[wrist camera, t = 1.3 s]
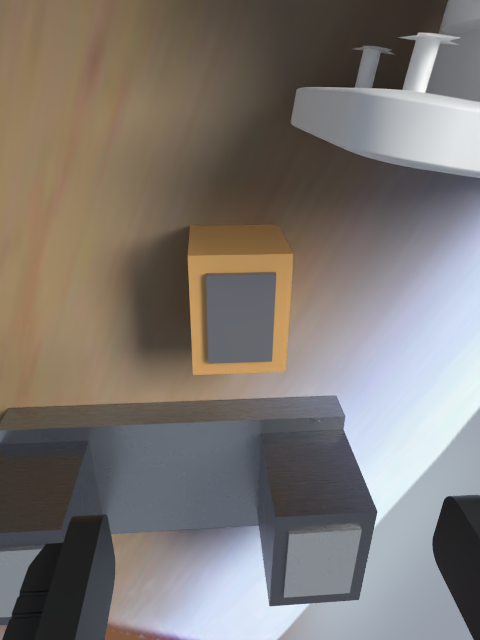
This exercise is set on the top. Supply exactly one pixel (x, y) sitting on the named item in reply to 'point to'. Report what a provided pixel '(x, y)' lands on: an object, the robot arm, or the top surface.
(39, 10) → the top surface
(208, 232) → the orange module
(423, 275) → the top surface
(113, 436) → the rail plate
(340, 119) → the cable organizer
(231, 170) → the top surface
